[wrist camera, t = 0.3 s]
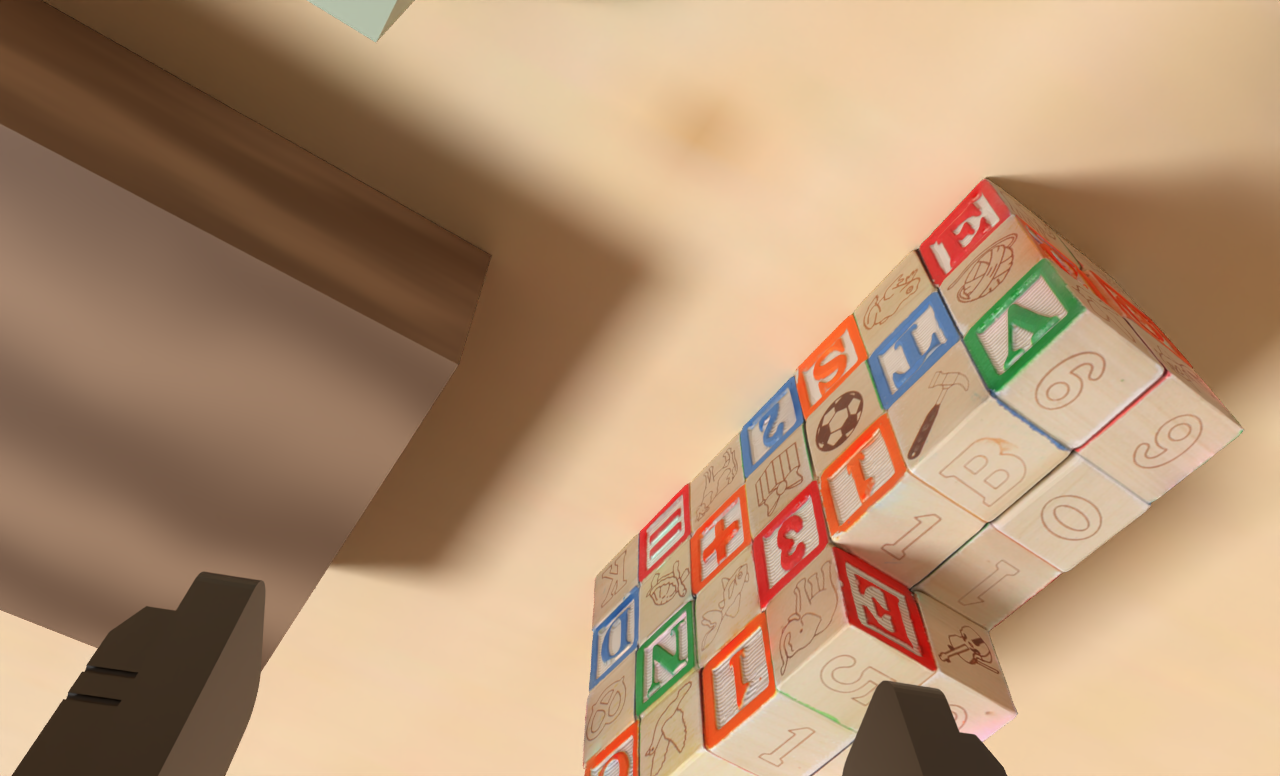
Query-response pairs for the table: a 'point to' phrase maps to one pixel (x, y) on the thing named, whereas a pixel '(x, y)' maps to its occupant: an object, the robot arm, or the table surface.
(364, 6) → the sage block
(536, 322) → the table surface
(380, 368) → the block
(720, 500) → the stack of blocks
